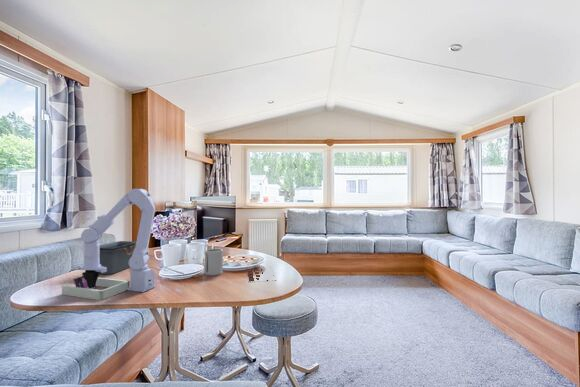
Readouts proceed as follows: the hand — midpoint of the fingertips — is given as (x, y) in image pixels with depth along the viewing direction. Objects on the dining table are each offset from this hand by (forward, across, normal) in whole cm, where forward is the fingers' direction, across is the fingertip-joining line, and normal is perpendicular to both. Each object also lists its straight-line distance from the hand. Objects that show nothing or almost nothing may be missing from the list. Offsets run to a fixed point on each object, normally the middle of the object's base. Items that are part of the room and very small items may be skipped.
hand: (91, 287), depth 129 cm
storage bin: (+2, +17, -29) cm, 34 cm away
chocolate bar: (+2, -59, -47) cm, 75 cm away
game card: (+2, +2, +2) cm, 3 cm away
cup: (+2, -35, -41) cm, 54 cm away
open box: (+1, -3, 0) cm, 3 cm away
